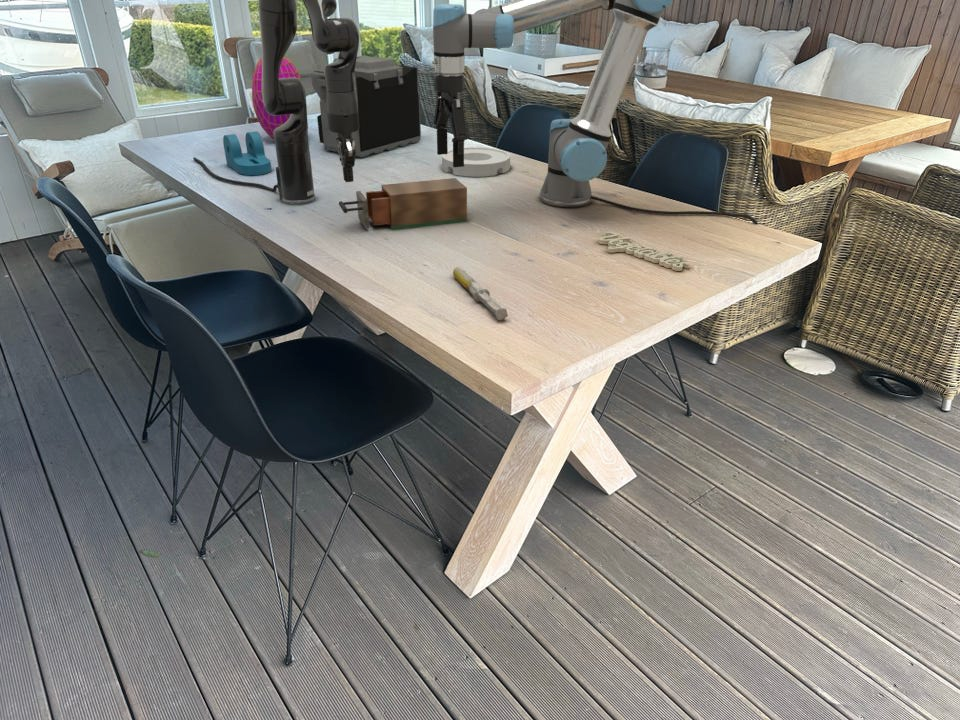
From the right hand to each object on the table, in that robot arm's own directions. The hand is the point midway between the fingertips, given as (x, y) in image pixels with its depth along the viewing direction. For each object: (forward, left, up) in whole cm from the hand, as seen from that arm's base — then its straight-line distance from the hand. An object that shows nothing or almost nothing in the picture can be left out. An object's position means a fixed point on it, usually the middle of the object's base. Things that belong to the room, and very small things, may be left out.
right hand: (450, 160), depth 181 cm
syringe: (-29, +43, -16) cm, 54 cm away
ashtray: (+16, -49, -16) cm, 54 cm away
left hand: (+19, +19, -3) cm, 27 cm away
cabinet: (+5, +5, -16) cm, 17 cm away
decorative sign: (-53, +4, -16) cm, 56 cm away
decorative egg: (+98, -51, -16) cm, 112 cm away
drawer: (+12, +12, -15) cm, 23 cm away
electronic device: (+64, -59, -16) cm, 88 cm away
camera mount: (+82, -13, -16) cm, 84 cm away
